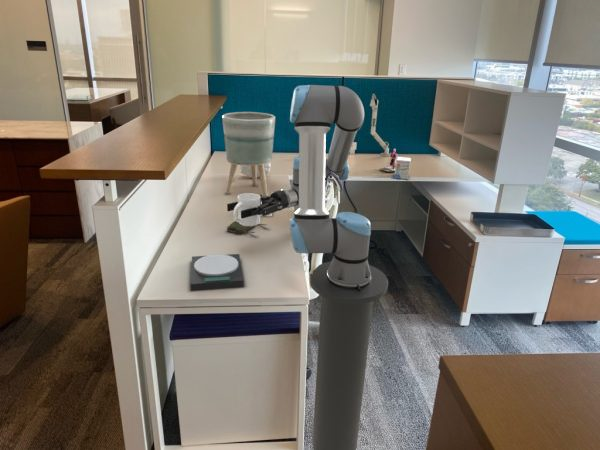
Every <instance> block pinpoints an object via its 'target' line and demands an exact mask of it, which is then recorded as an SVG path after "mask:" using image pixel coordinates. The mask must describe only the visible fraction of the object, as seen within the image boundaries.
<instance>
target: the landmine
mask: <svg viewBox="0 0 600 450" xmlns="http://www.w3.org/2000/svg"><path fill="white" fill-rule="evenodd" d="M256 226H258V227H261V228H263V229H266V230H268V228H266V227H265V226H267V224H265V223H264V224H263V223H259V224H257V225H255V226H243V225H241V224H240V223H239V222H237V221H235V220H234V221H232V223H230V224H229V225H228V226H227V227H226V229H227V230H226V231H227V232H228V233H235V234H236V235H243V234H247V235H250V236H253V237H255V238H256V236H255V235H254V233H256V231H249V230H251V229H252V228H254V227H256Z"/></svg>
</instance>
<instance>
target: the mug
mask: <svg viewBox="0 0 600 450" xmlns="http://www.w3.org/2000/svg"><path fill="white" fill-rule="evenodd" d="M260 195H261V194H258V193H253V192H244V193H240V194H239V195H237V202H238V204H237V205H236V206H235V208H234V210H233V220H234V221H237V222H239V223H240V224H241V225H243V226H254V227H256V226H258V225H257V224H261V216H260V215H258V214H257V215H254V216H250V217H246V218H241V211H242V210H246V209H250V208H255V207H256V208H257V209H258V207H259V206H260ZM255 225H256V226H255Z"/></svg>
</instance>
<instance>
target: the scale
mask: <svg viewBox="0 0 600 450" xmlns="http://www.w3.org/2000/svg"><path fill="white" fill-rule="evenodd" d="M190 266H191V268H190V291H202V290H203V291H204V290H217V289H219V290H220V289H230V288H244V287H245V279H244V273H243V269H242V262H241V257H240V253H232V254H231V253H229V254H222V253H221V254H220V253H219V254H217V253H216V254H209V255H198V256H197V255H195V256H191V265H190Z"/></svg>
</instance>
